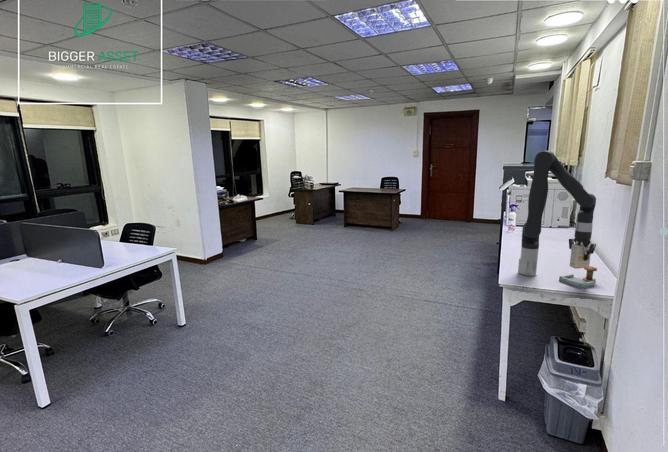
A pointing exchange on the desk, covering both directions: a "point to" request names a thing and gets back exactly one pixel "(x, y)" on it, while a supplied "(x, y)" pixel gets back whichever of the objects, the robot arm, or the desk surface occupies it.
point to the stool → (589, 274)
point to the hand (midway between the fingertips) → (579, 258)
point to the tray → (576, 281)
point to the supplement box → (578, 257)
